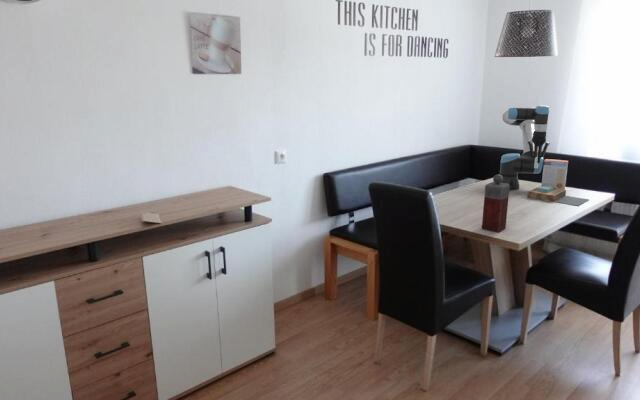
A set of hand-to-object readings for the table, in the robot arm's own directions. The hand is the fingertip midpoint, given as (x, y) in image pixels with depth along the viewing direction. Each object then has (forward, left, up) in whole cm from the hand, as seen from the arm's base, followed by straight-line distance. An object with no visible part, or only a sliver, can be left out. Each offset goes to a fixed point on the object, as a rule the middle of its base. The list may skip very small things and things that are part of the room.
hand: (535, 167), depth 305 cm
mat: (+23, 0, -18) cm, 29 cm away
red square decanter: (+14, -84, -18) cm, 87 cm away
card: (+7, 0, -14) cm, 16 cm away
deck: (+8, 0, -18) cm, 20 cm away
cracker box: (+5, +19, -18) cm, 27 cm away
